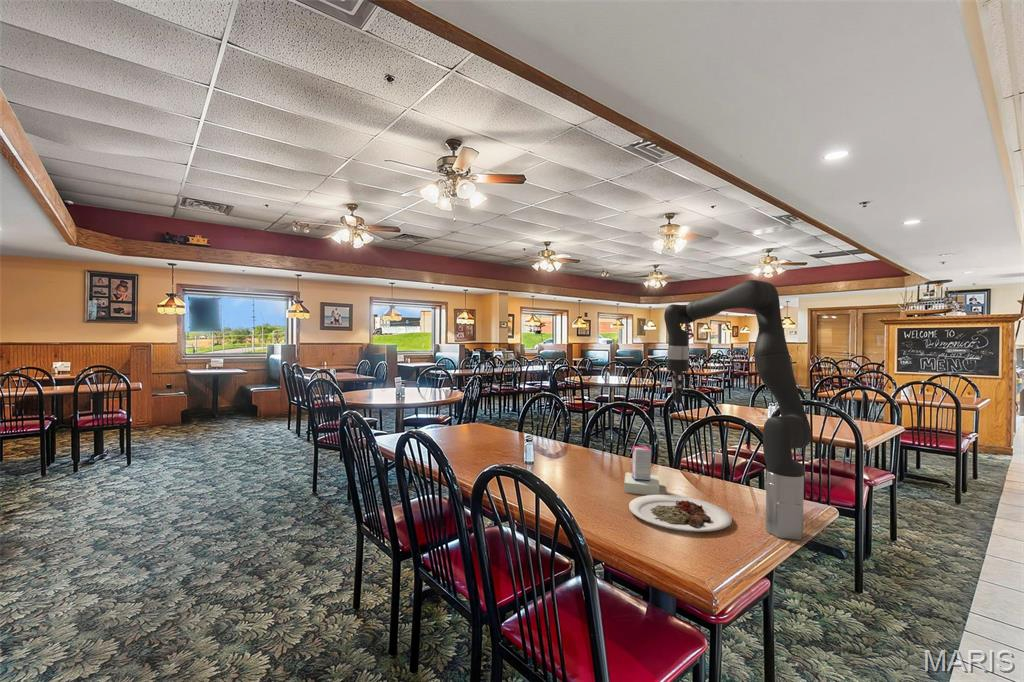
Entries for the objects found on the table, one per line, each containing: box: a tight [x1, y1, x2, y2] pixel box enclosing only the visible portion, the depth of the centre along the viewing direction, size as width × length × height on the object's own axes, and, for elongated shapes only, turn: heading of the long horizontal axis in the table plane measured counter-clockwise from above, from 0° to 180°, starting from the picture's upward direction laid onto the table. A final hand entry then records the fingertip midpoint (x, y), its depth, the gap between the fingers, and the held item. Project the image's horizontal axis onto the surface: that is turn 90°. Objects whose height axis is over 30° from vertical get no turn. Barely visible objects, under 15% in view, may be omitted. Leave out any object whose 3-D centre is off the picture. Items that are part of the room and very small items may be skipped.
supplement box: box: [631, 445, 652, 481], centre depth 169 cm, size 6×6×12 cm
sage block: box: [623, 471, 660, 496], centre depth 169 cm, size 14×12×4 cm
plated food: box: [628, 494, 733, 532], centre depth 142 cm, size 30×30×3 cm
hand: (677, 401), depth 170 cm, fingers open, 8 cm apart
